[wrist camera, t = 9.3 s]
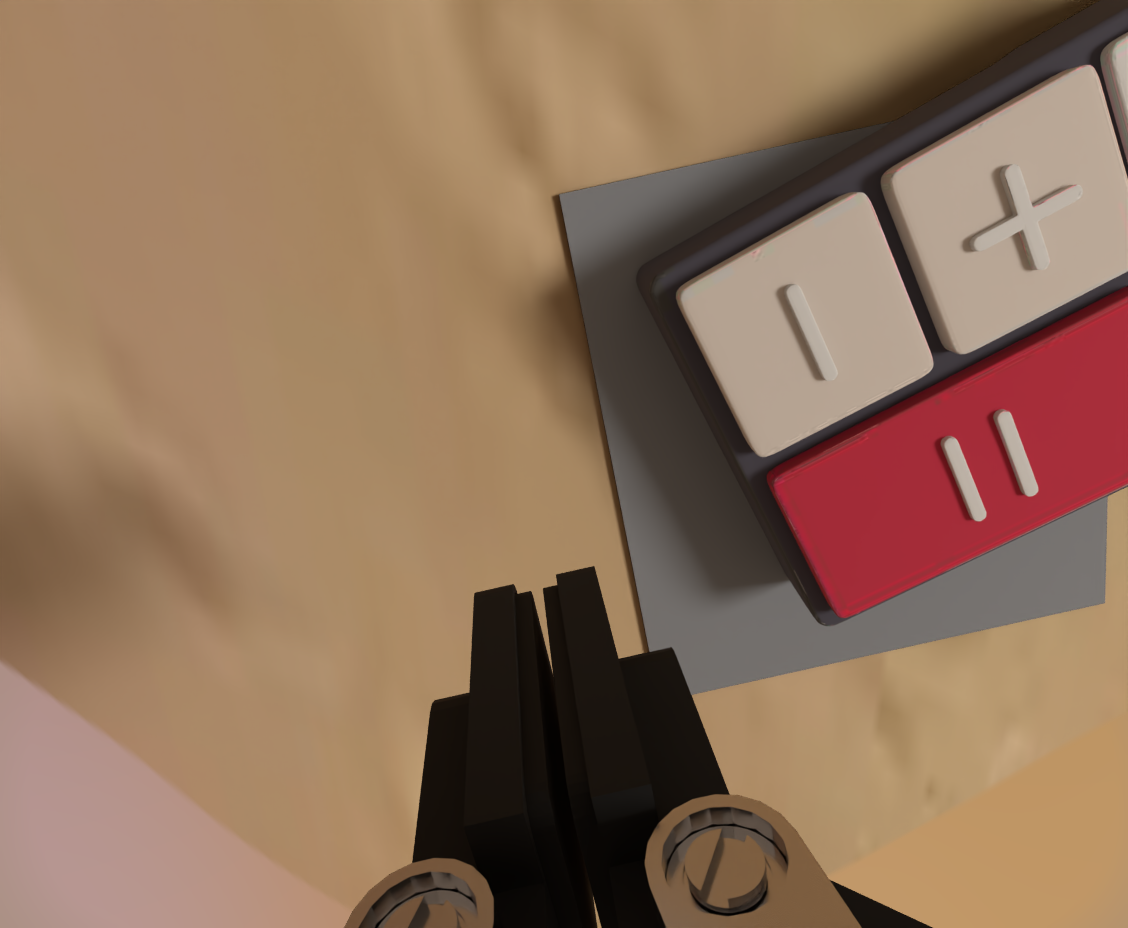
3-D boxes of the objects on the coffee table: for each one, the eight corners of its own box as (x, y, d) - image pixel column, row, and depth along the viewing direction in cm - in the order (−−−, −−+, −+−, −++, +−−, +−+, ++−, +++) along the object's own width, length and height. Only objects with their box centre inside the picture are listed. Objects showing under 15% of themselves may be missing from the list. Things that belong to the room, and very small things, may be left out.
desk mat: (559, 194, 20) (559, 194, 20) (1113, 73, 20) (1117, 72, 20) (658, 699, 25) (659, 701, 25) (1101, 600, 25) (1105, 603, 25)
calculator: (645, 285, 17) (1322, -98, 15) (626, 269, 21) (1154, -33, 19) (832, 650, 20) (1407, 379, 18) (784, 574, 24) (1248, 346, 22)
